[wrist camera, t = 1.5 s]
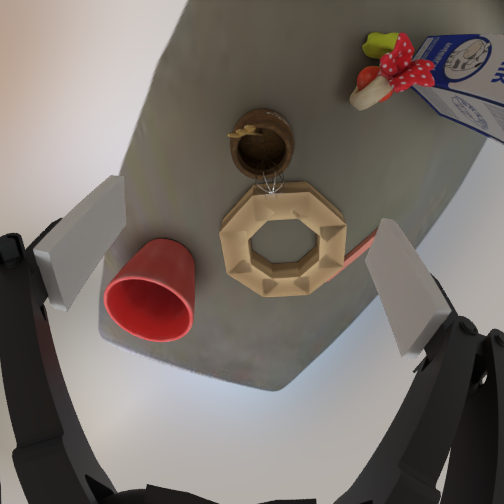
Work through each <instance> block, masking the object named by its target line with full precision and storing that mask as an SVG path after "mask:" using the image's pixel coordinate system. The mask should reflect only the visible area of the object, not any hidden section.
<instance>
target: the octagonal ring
mask: <svg viewBox="0 0 504 504" xmlns="http://www.w3.org/2000/svg"><path fill="white" fill-rule="evenodd" d="M283 184H284V187H283V185H282V183H275V187H274V183H270V184H268V186H269V188H270V190H271V192H273V193H277V194H273V193H272V194H273V195H274V197H275V198H276V195H277V198H276V199H275V198H274V197H273V195H272V194H269V192H270V190H269V188H268V186H267V184H258V185H259V186H260V187H261V188H262V189H261V188H260V187H259V186H258V185H257V184H256V185H253V186H252V187H251V188H250V189H249V191H248V192H247V193H246V194H245V195H244V196H243V197H242V198H241V200H240V201H239V202H238V203H237V204H236V205H235V206H234V207H233V209H232V210H231V211H230V212H229V213H228V214H227V215H226V217H225V218H224V219H223V221H222V224H221V228H220V232H219V234H220V239H221V245H222V250H223V255H224V260H225V265H226V270H227V274H228V275H230V276H231V277H233V278H234V279H236V280H238V281H239V282H241V283H242V284H244V285H245V286H247V287H249V288H250V289H252V290H253V291H255V292H257V293H258V294H260V295H261V296H263V297H277V296H294V295H309V294H311V293H312V292H313V291H314V290H316V289H317V288H318V287H319V286H321V285H322V284H323V283H324V282H326V281H327V280H328V279H329V278H331V277H332V276H333V275H334V274H335V273H337V272H338V271H339V270H340V269H342V268H343V265H344V254H345V241H346V227H347V225H346V222H345V220H344V218H343V216H342V213H341V212H340V211H339V210H338V209H337V208H336V207H335V206H334V205H332V204H331V203H330V202H329V201H328V200H327V199H326V198H325V197H323V196H322V195H321V194H320V193H319V192H318V191H317V190H316V189H314V188H313V187H312V186H311V185H310V184H309V183H307V182H306V181H303V182H285V183H283ZM281 185H282V186H281ZM280 186H281V187H280ZM256 187H257V190H256ZM273 187H274V189H273ZM279 187H280V188H279ZM278 188H279V189H278ZM263 189H264V190H266V191H268V192H266V191H265V193H264V190H263ZM275 189H276V190H277V189H278V190H277V191H276V192H274V191H275ZM272 190H273V191H272ZM283 191H284V192H283ZM257 192H258V193H259V194H258V193H257ZM282 192H283V193H282ZM278 193H281V194H278ZM260 194H262V195H260ZM266 194H268V195H266ZM270 195H271V196H270ZM265 196H266V198H265ZM269 196H270V198H269ZM268 198H269V199H268ZM283 219H299V220H301V221H302V222H303V223H304V224H306V225H307V226H308V227H309V228H311V229H312V230H313V231H314V232H315V233H316V246H315V247H314V248H313V249H312V250H311V251H310V252H309V253H308V254H306V255H305V256H304V257H303V258H302V259H301V260H300V261H299V262H293V263H276V264H272V263H270V262H269V261H267V260H266V259H265V258H263V257H262V256H260V255H259V254H257V253H256V252H254V251H253V250H252V245H251V237H252V235H253V234H254V233H255V232H256V231H257V230H258V229H259V228H260V227H261V226H262V225H263V224H264V223H265V222H266V221H267V220H283Z"/></svg>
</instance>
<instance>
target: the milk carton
mask: <svg viewBox="0 0 504 504" xmlns="http://www.w3.org/2000/svg"><path fill="white" fill-rule="evenodd" d="M418 59H424V60H430V61H432V62H433V63H434V66H435V67H434V68H433V69H432V70H430V73H431V74H432V76H433V78H434V81H435V85H434V86H432V87H424V86H420V85H416V84H414V85H412V86H411V88H412V89H413V90H414V91H416V92H417V93H418V94H419V95H420V96H421V97H422V98H423V99H424V100H425V101H426V102H427V103H428V104H429V105H430V106H431V107H432V108H433V109H434V110H435V111H436V112H437V113H438V114H439V115H440V116H443V117H445V118H448V119H450V120H452V121H455V122H457V123H459V124H462V125H464V126H466V127H468V128H470V129H473V130H475V131H477V132H479V133H481V134H483V135H485V136H487V137H489V138H491V139H493V140H495V141H497V142H499V143H501V144H502V145H504V35H489V34H462V35H441V36H428V37H427V38H426V40H425V41H424V43H423V44H422V46H421V47H420V49H419V50H418V51H417V53H416V54H415V56H414V57H413V59H412V61H415V60H418Z"/></svg>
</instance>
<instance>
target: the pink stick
mask: <svg viewBox="0 0 504 504" xmlns="http://www.w3.org/2000/svg"><path fill="white" fill-rule="evenodd" d="M378 228H379V227H378ZM378 228H377V229H376V230H375V231H374V232H373V233H372V234H370V235H369V236H368V237H367V238H366V239H365V240H364V241H362V242H361V243H360V244H359V245H358V246H357V247H356V248H354V249H353V250H352V251H351V252H350V253H349V254H347V255H346V256H345V257H344V265H343V268H342V269H340V270H339V271H338V272H337V273H335V274H334V275H333V276H332V277H331V278H329V279H328V280H327V282H328V281H329V280H331V279H332V278H333V277H334V276H335V275H337V274H338V273H339V272H340V271H342V270H343V269H344V268H345V267H346V266H348V265H349V264H350V263H351V262H352V261H354V260H355V259H356V258H357V257H358V256H360V255H361V254H362V253H363V252H364V251H365V250H367V249H368V248H369V247H370V246H371V245H372V243H373V240H374V238H375V235H376V233H377V230H378Z"/></svg>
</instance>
